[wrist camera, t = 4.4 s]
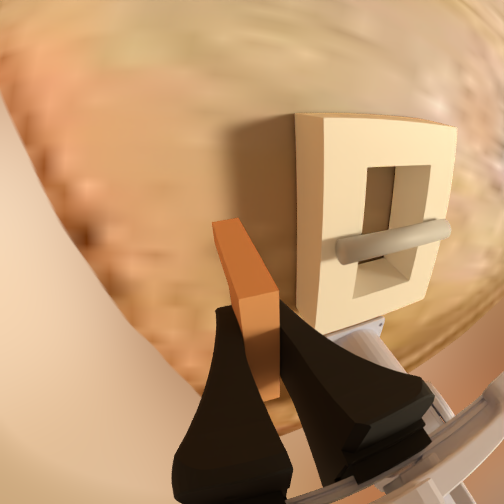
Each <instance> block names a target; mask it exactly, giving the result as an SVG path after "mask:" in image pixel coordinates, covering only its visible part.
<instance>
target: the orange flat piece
mask: <svg viewBox="0 0 504 504" xmlns="http://www.w3.org/2000/svg"><path fill="white" fill-rule="evenodd" d="M212 227H213V234H214V241H215V245H216V248H217V251H218V254H219V257H220V260H221V264H222V267H223V270H224V273H225V276H226V279H227V282H228V285H229V290H230V297H231V303H232V308H233V310H234V313H235V315H236V318H237V320H238V323H239V326H240V330H241V335H242V340H243V344H244V349H245V354H246V358H247V361H248V364H249V367H250V370H251V372H252V375H253V378H254V380H255V383H256V385H257V388H258V390H259V393H260V395H261V398H262V400H263V402H264V401H268V400H271V399H275V398H279V397H280V318H279V289H278V288H277V286H276V284H275V282H274V280H273V279H272V277H271V275H270V273H269V271H268V270H267V268H266V266H265V264H264V263H263V261H262V259H261V257H260V255H259V254H258V252H257V250H256V248H255V246H254V245H253V243H252V241H251V239H250V238H249V236H248V234H247V232H246V230H245V229H244V227H243V225H242V223H241V222H240V220H239V218H234V219H228V220H222V221H217V222H212Z"/></svg>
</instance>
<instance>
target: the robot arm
mask: <svg viewBox="0 0 504 504" xmlns="http://www.w3.org/2000/svg"><path fill="white" fill-rule="evenodd" d="M215 312H216V337H215V346H214V352H213V357H212V362H211V367H210V371H209V375H208V379H207V382H206V386H205V389H204V392H203V395H202V398H201V401H200V404H199V406H198V409H197V412H196V414H195V416H194V418H193V420H192V422H191V425H190V427H189V429H188V431H187V433H186V435H185V437H184V439H183V441H182V442H181V444H180V446H179V448H178V450H177V452H176V453H175V455H174V460H173V466H172V488H173V494H174V498H175V499H176V500H177V501H178V502H180V503H182V504H330V503H332V502H335V501H338V500H340V499H343V498H345V497H347V496H350V495H352V494H354V493H356V492H359V491H361V490H363V489H365V488H367V487H369V486H371V485H373V484H374V485H375V487H376V488H377V489H379V490H380V491H381V492H385V493H386V495H385V496H383V497H381V498H379V499H377V500H375V501H373V502H371V503H369V504H476V502H475V500H474V499H473V497H472V496H471V494H470V492H469V491H468V489H467V488H466V486H465V484H464V483H463V481H464V480H465V479H466V478H467V477H468V476H469V475H470V474H471V473H472V472H473V471H474V470H475V469H476V468H477V467H478V466H479V465H480V464H481V463H482V462H483V461H484V460H485V459H486V458H487V457H488V456H489V455H490V454H491V453H492V452H493V451H494V449H495V448H496V447H497V446H498V445H499V444H500V443H501V441H502V440H503V439H504V371H503V372H502V373H501V374H500V375H499V376H498V377H497V378H496V379H494V381H492V382H491V383H490V384H489V385H488V387H487V388H486V389H485V390H484V392H483V393H482V395H481V396H480V397H478V398H477V399H476V400H475V401H474V402H472V403H471V404H470V405H469V406H467V407H466V408H465V409H464V410H462V411H461V412H460V413H458V414H457V415H456V416H455V415H454V413H453V412H452V410H451V409H450V407H449V406H448V404H447V403H446V402H445V400H444V399H443V397H442V396H441V395H440V394H439V392H438V391H437V390H436V388H435V387H434V386H433V385H432V384H431V383H430V382H427V381H426V382H424V381H423V380H422V378H421V377H418V376H413V375H410V374H407V373H406V371H405V370H404V369H403V367H402V366H401V365H400V363H399V362H398V361H397V359H396V358H395V357H394V355H393V354H392V353H391V352H390V350H389V349H388V348H387V346H386V345H385V344H384V342H383V341H382V340H381V339H380V334H381V331H382V328H383V325H384V321H385V318H384V317H383V316H381V317H378V318H375V319H372V320H369V321H367V322H364V323H361V324H358V325H355V326H352V327H349V328H346V329H343V330H340V331H337V332H334V333H331V334H327V335H325V336H324V335H322V334H321V333H319V332H318V331H317V330H315V329H314V328H313V327H311V326H310V325H309V324H308V323H306V322H305V321H304V320H303V319H301V318H300V317H299V316H298V315H297V314H296V313H294V312H293V311H292V310H291V309H290V308H289V307H288V306H287V305H286V304H284V303H283V302H282V301H281V300H280V299H279V318H280V377H281V379H282V381H283V383H284V385H285V387H286V388H287V390H288V392H289V394H290V396H291V399H292V401H293V403H294V405H295V408H296V411H297V413H298V416H299V419H300V421H301V424H302V427H303V430H304V432H305V435H306V438H307V440H308V444H309V446H310V449H311V452H312V455H313V458H314V461H315V464H316V467H317V470H318V473H319V477H320V479H321V483H322V486H323V488H320V489H318V490H315V491H312V492H309V493H306V494H303V495H300V496H297V497H294V498H290V499H287V498H286V493H287V489H288V488H289V487H290V483H291V478H292V473H293V467H292V464H291V462H290V459H289V456H288V454H287V451H286V449H285V448H284V446H283V444H282V442H281V440H280V437H279V435H278V433H277V431H276V429H275V427H274V425H273V423H272V421H271V418H270V416H269V414H268V412H267V409H266V407H265V405H264V402H263V400H262V398H261V395H260V393H259V390H258V388H257V385H256V383H255V380H254V378H253V375H252V372H251V370H250V367H249V364H248V361H247V358H246V354H245V349H244V344H243V340H242V335H241V330H240V326H239V323H238V320H237V318H236V315H235V313H234V310H233V308H232V305H229V306H225V307H220V308H217V309H216V310H215ZM440 416H441V418H442V419H443V421H444V422H445V424H444V422H443V421H442V419H441V418H440Z"/></svg>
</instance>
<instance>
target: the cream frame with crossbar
mask: <svg viewBox="0 0 504 504" xmlns="http://www.w3.org/2000/svg"><path fill="white" fill-rule="evenodd" d="M295 137H296V171H297V284H296V308H297V309H298V311H299V313H300V314H301V316H302V318H303V320H304V321H305V322H306V323H308V324H309V325H310V326H311V327H313V328H314V329H315V330H317V331H318V332H319V333H321V334H322V335H324V334H327V333H331V332H334V331H337V330H340V329H343V328H346V327H349V326H352V325H355V324H358V323H361V322H364V321H367V320H370V319H372V318H375V317H378V316H381V315H384V314H386V313H389V312H392V311H394V310H397V309H399V308H402V307H405V306H407V305H410V304H412V303H415V302H417V301H419V300H422V299H424V297H425V294H426V291H427V287H428V284H429V281H430V278H431V274H432V271H433V267H434V264H435V260H436V257H437V253H438V249H439V245H440V241H441V240H443V239H446V238H448V237H449V236H450V234H451V226H450V223H449V222H448V221H447V220H446V219H445V218H446V213H447V208H448V203H449V197H450V191H451V185H452V178H453V170H454V162H455V152H456V141H457V127H453V126H449V125H446V124H442V123H438V122H433V121H429V120H425V119H419V118H410V117H400V116H389V115H375V114H355V113H295ZM385 166H396V168H395V179H394V190H393V199H392V207H391V215H390V222H389V229H388V230H384V231H379V232H374V233H369V234H364V235H362V227H363V218H364V207H365V195H366V181H367V168H368V167H385ZM383 255H384V258H381V259H377V260H374V261H370V262H366V263H362V264H358V262H359V261H363V260H367V259H371V258H375V257H379V256H383Z"/></svg>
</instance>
